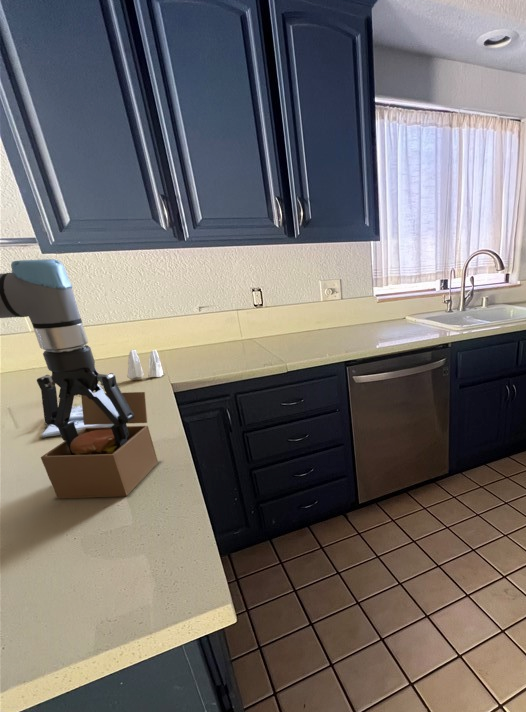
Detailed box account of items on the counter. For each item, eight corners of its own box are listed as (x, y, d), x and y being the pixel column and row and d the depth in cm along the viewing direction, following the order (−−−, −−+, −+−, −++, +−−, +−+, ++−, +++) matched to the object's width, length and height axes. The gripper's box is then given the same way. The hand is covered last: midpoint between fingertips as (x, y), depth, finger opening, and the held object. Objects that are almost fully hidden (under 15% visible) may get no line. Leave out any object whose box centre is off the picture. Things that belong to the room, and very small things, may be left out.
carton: (57, 498, 86) (40, 457, 82) (98, 464, 99) (84, 427, 95) (126, 496, 86) (113, 455, 82) (158, 462, 99) (147, 425, 95)
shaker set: (129, 382, 155) (120, 352, 150) (128, 379, 158) (119, 350, 153) (164, 376, 161) (157, 347, 156) (163, 374, 164) (156, 345, 159)
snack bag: (128, 404, 135) (126, 397, 134) (118, 428, 118) (115, 421, 117) (58, 413, 129) (55, 407, 128) (35, 440, 112) (32, 433, 111)
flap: (80, 393, 94) (81, 393, 94) (83, 424, 95) (84, 424, 95) (144, 392, 94) (144, 392, 94) (146, 422, 95) (147, 422, 95)
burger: (91, 444, 94) (84, 425, 92) (134, 443, 95) (129, 423, 93) (64, 467, 85) (56, 446, 83) (112, 464, 86) (106, 444, 84)
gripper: (134, 341, 84) (161, 443, 93) (22, 344, 84) (61, 446, 93) (113, 351, 77) (145, 460, 87) (-9, 354, 77) (36, 462, 86)
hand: (101, 452), depth 90 cm, fingers closed on burger, 9 cm apart
